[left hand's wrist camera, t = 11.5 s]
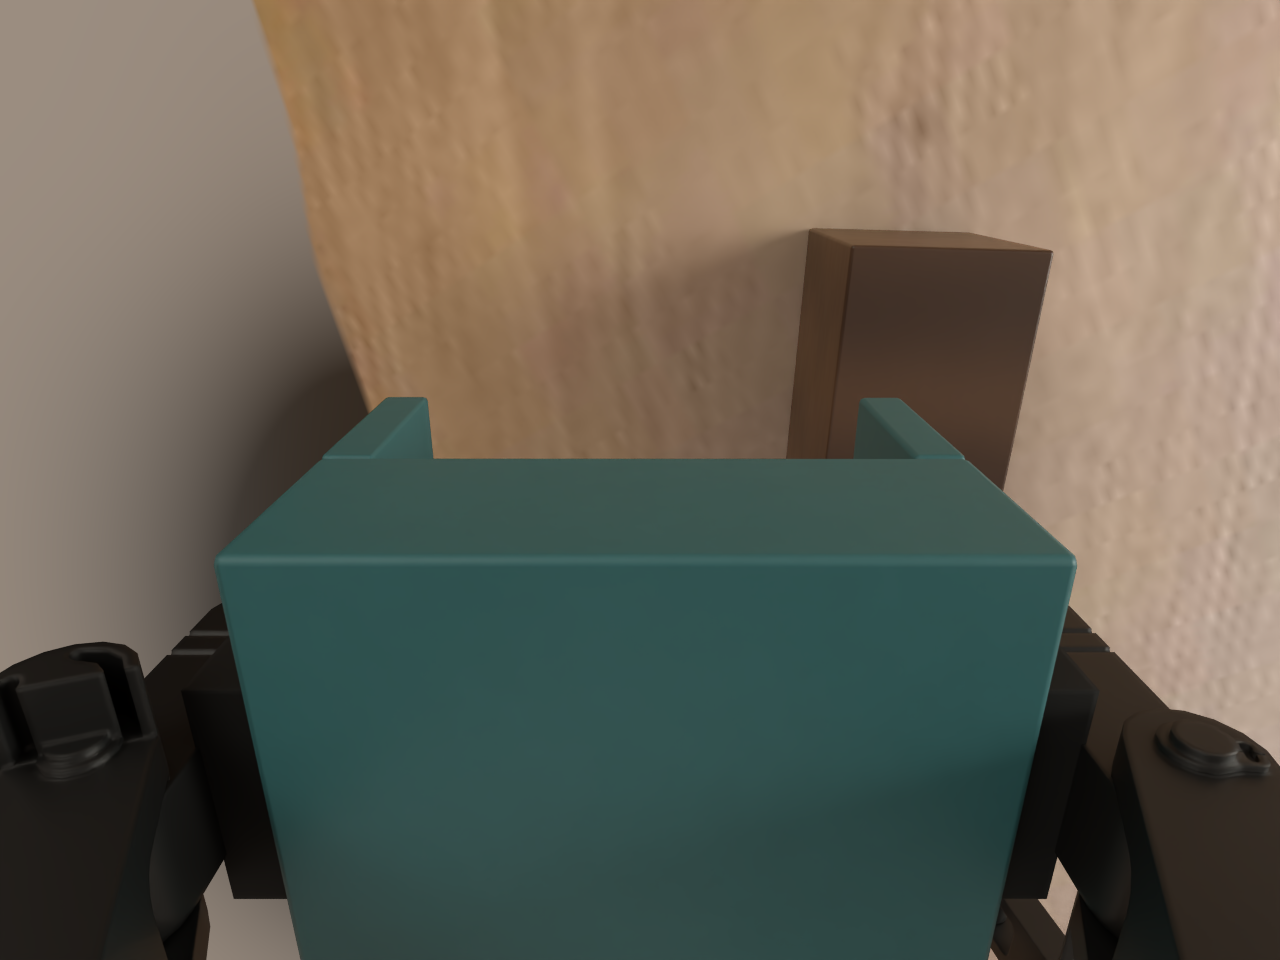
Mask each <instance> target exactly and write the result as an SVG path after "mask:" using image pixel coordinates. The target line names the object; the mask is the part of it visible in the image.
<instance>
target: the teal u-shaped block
mask: <svg viewBox="0 0 1280 960" xmlns="http://www.w3.org/2000/svg"><path fill="white" fill-rule="evenodd" d="M214 568H215V573H216V577H217V582H218V587H219V591H220V596H221V600H222V605H223V609H224V614H225V618H226V623H227V627H228V632H229V637H230V641H231V646H232V650H233V655H234V659H235V664H236V668H237V673H238V677H239V682H240V687H241V691H242V696H243V700H244V705H245V709H246V714H247V718H248V723H249V727H250V732H251V736H252V741H253V746H254V750H255V755H256V759H257V764H258V768H259V773H260V777H261V782H262V786H263V791H264V796H265V800H266V805H267V809H268V814H269V818H270V823H271V827H272V832H273V836H274V841H275V846H276V850H277V855H278V859H279V864H280V868H281V873H282V877H283V882H284V886H285V891H286V895H287V900H288V905H289V909H290V914H291V918H292V923H293V927H294V932H295V936H296V941H297V945H298V950H299V955H300V959H301V960H988V957H989V952H990V948H991V943H992V939H993V935H994V930H995V926H996V921H997V917H998V913H999V908H1000V904H1001V899H1002V895H1003V891H1004V886H1005V882H1006V877H1007V873H1008V868H1009V864H1010V860H1011V855H1012V851H1013V846H1014V842H1015V838H1016V833H1017V829H1018V824H1019V820H1020V816H1021V811H1022V807H1023V802H1024V798H1025V794H1026V789H1027V785H1028V780H1029V776H1030V772H1031V767H1032V763H1033V758H1034V754H1035V750H1036V745H1037V741H1038V736H1039V732H1040V727H1041V723H1042V719H1043V714H1044V710H1045V705H1046V701H1047V697H1048V692H1049V688H1050V683H1051V679H1052V675H1053V670H1054V666H1055V661H1056V657H1057V653H1058V648H1059V644H1060V639H1061V635H1062V631H1063V626H1064V622H1065V617H1066V613H1067V608H1068V604H1069V600H1070V595H1071V591H1072V586H1073V582H1074V578H1075V573H1076V569H1077V562H1076V558H1075V556H1074V555H1073V554H1072V553H1071V552H1070V551H1069V550H1068V549H1066V548H1065V547H1064V546H1063V545H1062V544H1061V543H1060V542H1059V541H1058V540H1056V539H1055V538H1054V537H1053V536H1052V535H1051V534H1050V533H1049V532H1047V531H1046V530H1045V529H1044V528H1043V527H1042V526H1041V525H1040V524H1039V523H1037V522H1036V521H1035V520H1034V519H1033V518H1032V517H1031V516H1030V515H1028V514H1027V513H1026V512H1025V511H1024V510H1023V509H1022V508H1021V507H1019V506H1018V505H1017V504H1016V503H1015V502H1014V501H1013V500H1012V499H1011V498H1009V497H1008V496H1007V495H1006V494H1005V493H1004V492H1003V491H1002V490H1000V489H999V488H998V487H997V486H996V485H995V484H994V483H993V482H992V481H990V480H989V479H988V478H987V477H986V476H985V475H984V474H983V473H981V472H980V471H979V470H978V469H977V468H976V467H975V466H974V465H973V464H971V463H970V462H969V461H967V460H965V458H964V455H963V454H961V453H960V452H959V451H958V450H957V449H956V448H955V447H954V446H952V445H951V444H950V443H949V442H948V441H947V440H946V439H945V438H943V437H942V436H941V435H940V434H939V433H938V432H937V431H936V430H934V429H933V428H932V427H931V426H930V425H929V424H928V423H927V422H926V421H924V420H923V419H922V418H921V417H920V416H919V415H918V414H917V413H915V412H914V411H913V410H912V409H911V408H910V407H909V406H908V405H906V404H905V403H904V402H903V401H902V400H901V399H899V398H863V399H861V400H860V402H859V410H858V419H857V429H856V438H855V448H854V457H853V459H433V450H432V440H431V430H430V420H429V410H428V401H427V399H426V398H424V397H388V398H386V399H385V400H384V401H382V402H381V403H380V404H379V405H378V406H377V407H376V408H375V409H374V410H373V411H372V412H370V413H369V414H368V415H367V416H366V417H365V418H364V419H363V420H362V421H361V422H359V423H358V424H357V425H356V426H355V427H354V428H353V429H352V430H351V431H350V432H349V433H347V434H346V435H345V436H344V437H343V438H342V439H341V440H340V441H339V442H337V443H336V444H335V445H334V446H333V447H332V448H331V449H330V450H329V451H328V452H326V453H325V454H324V455H323V457H322V460H321V461H319V462H318V463H317V464H316V465H314V466H313V467H312V468H311V469H310V470H309V471H308V472H307V473H306V474H305V475H304V476H302V477H301V478H300V479H299V480H298V481H297V482H296V483H295V484H294V485H293V486H292V487H290V488H289V489H288V490H287V491H286V492H285V493H284V494H283V495H282V496H281V497H280V498H279V499H277V500H276V501H275V502H274V503H273V504H272V505H271V506H270V507H269V508H268V509H266V510H265V511H264V512H263V513H262V514H261V515H260V516H259V517H258V518H257V519H256V520H255V521H253V522H252V523H251V524H250V525H249V526H248V527H247V528H246V529H245V530H244V531H242V532H241V533H240V534H239V535H238V536H237V537H236V538H235V539H234V540H233V541H232V542H230V543H229V544H228V545H227V546H226V547H225V548H224V549H223V550H222V551H221V552H220V553H219V554H217V555H216V558H215V563H214Z"/></svg>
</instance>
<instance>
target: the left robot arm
mask: <svg viewBox="0 0 1280 960" xmlns="http://www.w3.org/2000/svg"><path fill="white" fill-rule="evenodd" d="M852 459H853V458H852ZM1057 857H1058V858H1059V860H1060V862H1061V863H1062V865H1063V867H1064V868H1065V870H1066V872H1067V873H1068V875H1069V877H1070V878H1071V880H1072V882H1073V883H1074V885H1075V887H1076V888H1077V890H1078V891H1077V895H1076V899H1075V902H1074V906H1073V910H1072V913H1071V917H1070V921H1069V924H1068V928H1067V932H1066V935H1065V939H1064V942H1063V946H1062V950H1061V953H1060V957H1059V960H1280V766H1279V765H1278V764H1277V762H1276V761H1275V760H1274V759H1273V757H1272V756H1271V755H1270V754H1269V752H1268V751H1267V750H1266V749H1264V748H1263V747H1261V746H1260V745H1259V744H1257V743H1256V742H1254V741H1253V740H1252V739H1250V738H1249V737H1248V736H1246V735H1245V734H1243V733H1241V732H1239V731H1237V730H1235V729H1233V728H1231V727H1229V726H1227V725H1225V724H1222V723H1220V722H1218V721H1216V720H1214V719H1210V718H1207V717H1204V716H1200V715H1197V714H1193V713H1190V712H1186V711H1180V710H1171V709H1169V708H1168V707H1167V706H1166V705H1165V704H1164V703H1163V702H1162V701H1161V700H1160V699H1159V698H1158V697H1157V696H1156V694H1155V693H1154V692H1153V691H1152V690H1151V689H1150V688H1149V687H1148V686H1147V685H1146V684H1145V683H1144V682H1143V681H1142V680H1141V679H1140V678H1139V677H1138V676H1137V675H1136V674H1135V673H1134V672H1133V671H1132V670H1131V669H1130V668H1129V667H1128V666H1127V665H1126V664H1125V663H1124V662H1123V661H1122V660H1121V659H1120V658H1119V657H1118V655H1117V654H1116V653H1115V652H1110V647H1109V646H1108V645H1107V644H1106V643H1105V642H1104V641H1103V640H1102V639H1101V638H1100V637H1099V636H1098V635H1097V634H1096V633H1092V631H1091V628H1090V627H1089V626H1088V625H1087V624H1086V623H1085V622H1084V621H1083V620H1082V619H1081V618H1080V617H1079V615H1078V614H1077V613H1076V612H1075V611H1074V610H1073V609H1072V608H1071V607H1070V606H1068V608H1067V613H1066V617H1065V622H1064V626H1063V631H1062V635H1061V639H1060V644H1059V648H1058V653H1057V657H1056V661H1055V666H1054V670H1053V675H1052V679H1051V683H1050V688H1049V692H1048V697H1047V701H1046V705H1045V710H1044V714H1043V719H1042V723H1041V727H1040V732H1039V736H1038V741H1037V745H1036V750H1035V754H1034V758H1033V763H1032V767H1031V772H1030V776H1029V780H1028V785H1027V789H1026V794H1025V798H1024V802H1023V807H1022V811H1021V816H1020V820H1019V824H1018V829H1017V833H1016V838H1015V842H1014V846H1013V851H1012V855H1011V860H1010V864H1009V868H1008V873H1007V877H1006V882H1005V886H1004V891H1003V895H1002V899H1047V896H1048V892H1049V888H1050V884H1051V880H1052V876H1053V872H1054V868H1055V864H1056V860H1057ZM223 860H224V862H225V866H226V870H227V874H228V878H229V882H230V885H231V889H232V893H233V897H234V899H287V895H286V891H285V886H284V882H283V877H282V873H281V868H280V864H279V859H278V855H277V850H276V846H275V841H274V836H273V832H272V827H271V823H270V818H269V814H268V809H267V805H266V800H265V796H264V791H263V786H262V782H261V777H260V773H259V768H258V764H257V759H256V755H255V750H254V746H253V741H252V736H251V732H250V727H249V723H248V718H247V714H246V709H245V705H244V700H243V696H242V691H241V687H240V682H239V677H238V673H237V668H236V664H235V659H234V655H233V650H232V646H231V641H230V637H229V632H228V627H227V623H226V618H225V614H224V609H223V605H222V603H221V604H220V605H218V606H216V607H214V608H213V609H211V610H210V611H209V612H208V613H207V614H206V615H205V616H204V617H203V618H202V619H201V621H200V622H199V623H198V624H197V625H196V626H195V627H194V628H193V629H192V630H191V631H190V635H189V636H185V637H184V638H183V639H182V640H181V641H180V642H179V643H178V644H177V645H176V646H175V647H174V648H173V649H172V654H171V655H167V656H166V657H165V658H164V659H163V660H162V661H161V662H160V663H159V664H158V665H157V666H156V667H155V668H154V669H153V670H152V671H151V672H150V673H149V674H148V675H147V676H146V677H145V678H144V676H143V672H142V668H141V665H140V661H139V657H138V654H137V653H136V652H135V651H133V650H132V649H130V648H129V647H127V646H126V645H123V644H115V643H108V642H95V643H84V644H74V645H70V646H66V647H63V648H59V649H55V650H51V651H47V652H43V653H41V654H38V655H36V656H33V657H31V658H29V659H26V660H24V661H21V662H19V663H16V664H14V665H12V666H10V667H9V668H7V669H6V670H4V671H2V672H1V673H0V960H206V957H207V949H208V941H209V932H210V922H209V916H208V910H207V906H206V902H205V899H204V895H203V893H204V892H205V890H206V888H207V887H208V885H209V883H210V882H211V880H212V878H213V877H214V875H215V873H216V872H217V870H218V868H219V867H220V865H221V863H222V862H223Z"/></svg>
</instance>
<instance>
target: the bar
mask: <svg viewBox="0 0 1280 960" xmlns="http://www.w3.org/2000/svg"><path fill="white" fill-rule="evenodd" d="M1052 258H1053V251H1051V250H1047V249H1042V248H1038V247H1033V246H1028V245H1024V244H1019V243H1014V242H1010V241H1005V240H1001V239H996V238H991V237H987V236H982V235H977V234H973V233H961V232H925V231H890V230H854V229H818V228H812V229H810V231H809V238H808V248H807V257H806V267H805V277H804V287H803V297H802V307H801V317H800V327H799V337H798V347H797V357H796V367H795V377H794V387H793V397H792V406H791V416H790V426H789V436H788V446H787V456H786V459H852V458H853V457H854V448H855V438H856V429H857V419H858V410H859V402H860V400H861V399H863V398H899V399H901V400H902V401H903V402H904V403H905V404H906V405H908V406H909V407H910V408H911V409H912V410H913V411H914V412H915V413H917V414H918V415H919V416H920V417H921V418H922V419H923V420H924V421H926V422H927V423H928V424H929V425H930V426H931V427H932V428H933V429H934V430H936V431H937V432H938V433H939V434H940V435H941V436H942V437H943V438H945V439H946V440H947V441H948V442H949V443H950V444H951V445H952V446H954V447H955V448H956V449H957V450H958V451H959V452H960V453H961V454H963V455H964V458H965V460H967V461H969V462H970V463H971V464H973V465H974V466H975V467H976V468H977V469H978V470H979V471H980V472H981V473H983V474H984V475H985V476H986V477H987V478H988V479H989V480H990V481H992V482H993V483H994V484H995V485H996V486H997V487H998V488H999V489H1000V490H1002V491H1003V489H1004V484H1005V480H1006V475H1007V470H1008V465H1009V461H1010V456H1011V451H1012V447H1013V442H1014V437H1015V432H1016V428H1017V423H1018V418H1019V414H1020V409H1021V404H1022V399H1023V395H1024V390H1025V385H1026V381H1027V376H1028V371H1029V366H1030V362H1031V357H1032V352H1033V347H1034V343H1035V338H1036V333H1037V329H1038V324H1039V319H1040V314H1041V310H1042V305H1043V300H1044V296H1045V291H1046V286H1047V281H1048V277H1049V272H1050V267H1051V263H1052Z"/></svg>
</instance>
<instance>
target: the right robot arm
mask: <svg viewBox="0 0 1280 960" xmlns="http://www.w3.org/2000/svg"><path fill="white" fill-rule="evenodd" d="M1064 939H1065V935H1064V934H1063V932H1062V931H1061V930H1060V928H1059V927H1058V926H1057V924H1056V923H1055V922H1054V920H1053V919H1052V918H1051V916H1050V915H1049V914H1048V912H1047V911H1046V910H1045V908H1044V907H1043V906H1042V904H1041V903H1040V902H1039V900H1038V899H1001V904H1000V908H999V913H998V917H997V921H996V926H995V930H994V935H993V939H992V943H991V949H992V950H993V952H994V954H995V955H996V957H997V958H998V960H1059V957H1060V953H1061V950H1062V946H1063V942H1064Z"/></svg>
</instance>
